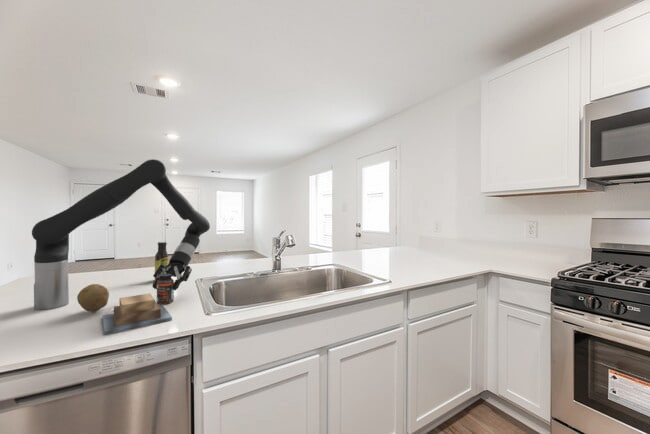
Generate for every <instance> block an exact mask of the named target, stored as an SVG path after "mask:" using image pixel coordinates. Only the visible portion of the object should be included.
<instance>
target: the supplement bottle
mask: <svg viewBox="0 0 650 434" xmlns="http://www.w3.org/2000/svg"><path fill="white" fill-rule="evenodd" d="M174 282H175V280H174V279H173V277H171V274H161V275H160V280H158V281H157V289H156V303H157V304H158V305H161V304H162V305H169V304H171V303H173V302H174V301H175V300H174V299H175V298H174V297H175V295H174V293H175V292H174V291H175V290H173V289H172V286H173V284H174Z"/></svg>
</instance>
